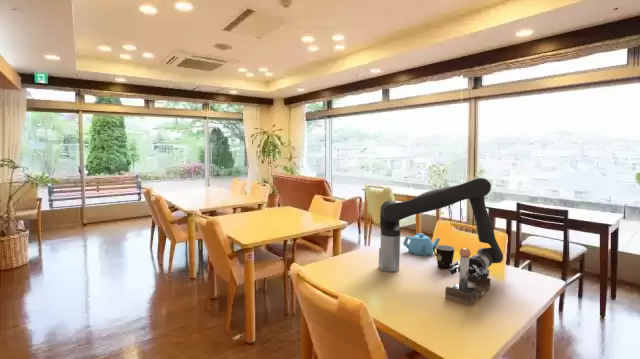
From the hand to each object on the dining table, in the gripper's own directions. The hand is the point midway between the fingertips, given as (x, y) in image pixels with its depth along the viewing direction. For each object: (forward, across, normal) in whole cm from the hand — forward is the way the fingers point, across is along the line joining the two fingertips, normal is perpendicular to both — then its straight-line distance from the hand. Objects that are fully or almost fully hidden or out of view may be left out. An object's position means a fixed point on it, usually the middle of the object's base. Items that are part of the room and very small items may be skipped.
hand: (462, 275), depth 139 cm
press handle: (-1, 0, +8) cm, 8 cm away
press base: (-8, 0, +10) cm, 12 cm away
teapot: (-43, -39, +10) cm, 59 cm away
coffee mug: (-31, -21, +10) cm, 39 cm away
